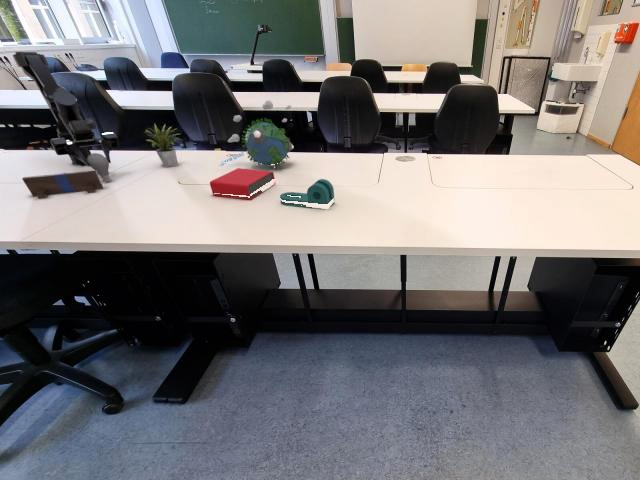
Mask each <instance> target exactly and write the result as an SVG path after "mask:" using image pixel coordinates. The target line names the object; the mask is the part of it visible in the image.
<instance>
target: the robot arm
mask: <svg viewBox="0 0 640 480" xmlns="http://www.w3.org/2000/svg"><path fill="white" fill-rule="evenodd" d="M12 57H13V60H14V62H15V64H16V65H17V67H18V68H21V70H22V72H23V73H24V75H26V76H27V77H29V78H30V79H31V80H33V81H34V84H35V85H36V86H37V89H38V90H39V92H40V93H41V95H42V97H43V99H44V101H45V103H46V104H47V106H48V108H49V109H50V111H51V113H52V115H53V117H54V118H55V120H56V123H57V125H56V132H57V137H55V138H51V139H50V144H51V147H52V148H53V150H54V152H55V154H56V155H57V156H66V155H68V156H69V159H70V160H71V162H72V163H71V164H72V165H75V166H81V167H84V166H87V167H90V165H89V163H88V161H87V158H88V156H89V155H90V154H92V152H91V150H90V148H92V147H93V146H94V147H95V146H101V149H102V152H103V154H104V157H106V158H107V160H108V162H109V164H111V163H112V161H111V156H110V151H111V152H112V151H113V149H118V148H120V141H119V137H118V136H117V134H116V133H114V132H104V133H101V137H98V138H95V137H94V136H95V134H94V132H93V131H92V130H97V125H96V123H95V121H94V120H93V118H92V117H88V118H85V119H83V118H82V116H81V111H80V107H79V104H80V102H79V100H78V99H77V98H76V95H74V94H73V93H71V92H69V91H68V90H67V89H66V88H65V87H63V86H61V85H59V84H58V82H57V81H56V80H55V77H54V76H53V75H52V73H51V72H50V70H49V67H50V64H49V63H48V61H47V59H46V56H45V55H44V54H42V53H41V54H40V53H38V51H14V54H12Z"/></svg>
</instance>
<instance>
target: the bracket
mask: <svg viewBox="0 0 640 480" xmlns="http://www.w3.org/2000/svg"><path fill="white" fill-rule="evenodd" d="M287 195H291V196H301V198H299V197H290V196H287ZM280 198H281V199H282V200H286V201H298V202H308V203H318V204H328V203H329V202H330V201H331V200H332V199H333V198H334V199H335V191H334V186H333V184H332V183H331V182H330V181H329V180H328V179H325V178H320V179H318V180H316V181H314V183H313V184H311V185H310V186H309V187H308V188H307V190H306V193H305V192H296V191H288V192H287V191H286V192H283V193H281V194H279V199H280ZM280 204H281V205H283V206H289V207H297V208H305V209H313V208H312V207H309V208H308V207H306V205H303V204H294V203H285V202H282V201H281V200H280ZM301 205H302V206H301Z"/></svg>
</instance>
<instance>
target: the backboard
mask: <svg viewBox="0 0 640 480" xmlns="http://www.w3.org/2000/svg"><path fill="white" fill-rule="evenodd" d="M21 180H22V181H23V182H24V184H25V187H26V188H27V189H28V191H29V192H30V194H31V195H32V197H37V198H38V200H39V199H47V198H48V197H49V196H53V195H61V194H62V195H63V194H70V193H78V192H87V194H91V193H96V191H97V190H104V185H103V184H102V180H101V179H100V177H99V174H98V173H97V172H96V171H95V170H88V171H87V170H85V171H77V172H75V171H74V172H61V173H53V174H40V175H39V174H37V175H33V176H23V177H22V178H21Z"/></svg>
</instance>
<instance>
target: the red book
mask: <svg viewBox="0 0 640 480" xmlns="http://www.w3.org/2000/svg"><path fill="white" fill-rule="evenodd" d="M275 178H276V177H275V173H274V171H269V170H260V169H251V168H241V167H238V168H235V169H233V170H231V171H229V172H227V173H225V174H223V175H221V176H218V177H216V178H215V179H212V180H209V186H210V190H211V193H212V195H213V196H216V197H222V198H223V197H225V198H233V199H241V200H249V201H250V200H251V201H252V200H254V199H255V198H256V197H258V196H260V195H261V194H263V193H264V192H262V191H261V190H260V191H258V192H257V193H255V194H253V195H252V196H250V194H251V193H253V192H254V191H256V190H257V189H259V188H260V187H262V186H263V185H265V184H266V183H268V182H270V181H271V180H272V179H275ZM275 180H276V179H275ZM214 193H220V194H214ZM222 194H233V195H246V196H250V198H248V197H239V196H231V195H222Z"/></svg>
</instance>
